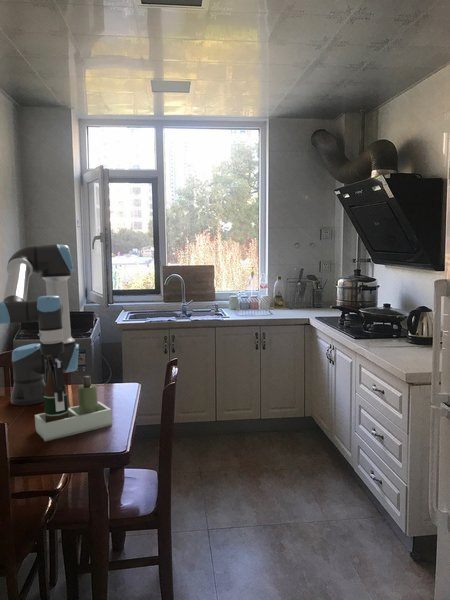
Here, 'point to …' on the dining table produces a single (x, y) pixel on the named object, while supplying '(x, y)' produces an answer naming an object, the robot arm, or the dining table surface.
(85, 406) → the olive bottle
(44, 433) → the caddy
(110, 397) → the dining table surface
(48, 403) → the beer bottle
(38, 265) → the robot arm
